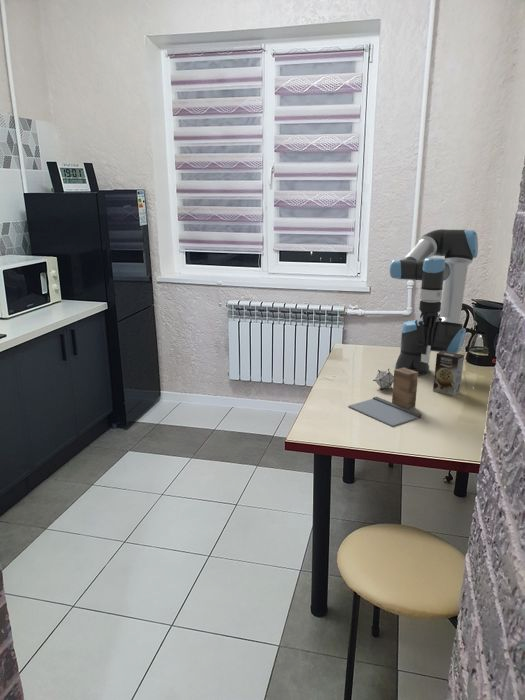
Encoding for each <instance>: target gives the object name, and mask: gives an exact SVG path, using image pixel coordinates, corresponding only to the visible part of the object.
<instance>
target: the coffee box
mask: <svg viewBox="0 0 525 700" xmlns="http://www.w3.org/2000/svg"><path fill="white" fill-rule="evenodd" d="M464 359H465V354H463V353H452V352H447V351H442V352H436V359H435V366H434V367H435V368H434V377H433V385H432V386H433V388H432V391H433V392H437V393H441V394H443V395H444V394H445V395H448V396H452V397H455V396H456V395H458V394H459V393H461V383H462V375H463V368H464V367H463V366H464V362H465V360H464Z"/></svg>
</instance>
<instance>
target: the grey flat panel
mask: <svg viewBox="0 0 525 700" xmlns="http://www.w3.org/2000/svg"><path fill="white" fill-rule="evenodd" d="M348 408H349V409H352V410H354V411H356V412H359V413H361V414H363V415H365V416H367V417H369V418H371V419H374V420H376V421H379V422H381V423H383V424H386V425H388V426H389V427H393V428H394V427H396V426H400V425H403V424H405V423H408V422H409V423H410V422H412V421H414V420H418V419H421V418H422V417H423V415H422V414H421V413H418V412H416V411H413V410H412V409H406V408H404V407H401V406H399V405H396V404H394V403H392V401H389V400H386V399H383V398H381V397H378V396H374V397H372V399H371V398H370V399H367V400H364V401H361V402H357V403H353V404H350V405H348Z"/></svg>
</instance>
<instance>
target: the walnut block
mask: <svg viewBox="0 0 525 700" xmlns="http://www.w3.org/2000/svg"><path fill="white" fill-rule="evenodd" d="M393 376H394V381H393V384H392V396H391V397H392V399H391V400H392V401H391V403H394V404H396V405H399V406H401V407H404V408H406V409H409V410H413V409H415V408H416V402H417V401H416V400H417V392H418V391H417V390H418V380H419V375H418V372H416V371H413V370H410V369H407V368H399V369H395V368H394V371H393Z"/></svg>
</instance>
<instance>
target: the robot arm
mask: <svg viewBox="0 0 525 700" xmlns="http://www.w3.org/2000/svg"><path fill="white" fill-rule="evenodd" d="M478 252H479V239H478V234H477V232H476V231H475V230H472V229H471V230H470V229H443V228H441V229H435V230H431V231H430V232H426V234H423V235H421V236H420V237H419V238H418V239H417V240H416V242H415V244H414V247H413V248H412V249H410V251H409V252H408V253H407V254H406V255H405V256H404V257H403V259H400V258H399V259H392V261H391V263H390V267H389V275H390V277H391V278H392V279H396V280H407V281H408V280H409V281H421V285H420V286H421V288H420V297H419V299H420V301H419V308H418V309H419V311H420V316H419V318H418V319H414V320H409V321H405V322H404V323H403V324H402V329H401V338H400V340H401V341H400V353H399V355H398V357H397V360H396V363H395V364H394V365H395V366H394V370H395V369H399V368H407V369H410V370H413V371H416V372H418V376H422V375H423V376H424V375H427V374H429V373H430V364H429V363H430V358H431V357H430V355H431V352H435V353H439V352H442V351H447V352H452V353H457V354H459V352H461V349H462V347H463V344H464V341H465V337H466V332H467V331H466V328H464V324H463V322H462V321H461V315H462V307H463V303H464V302H463V301H464V294H465V288H466V287H465V286H466V281H467V276H468V275H467V274H468V268H469V265H470V264H472V263H473V259H476V258H477V257H478ZM434 256H436V257H434ZM438 256H439V257H438ZM441 257H444V258H441Z"/></svg>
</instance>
